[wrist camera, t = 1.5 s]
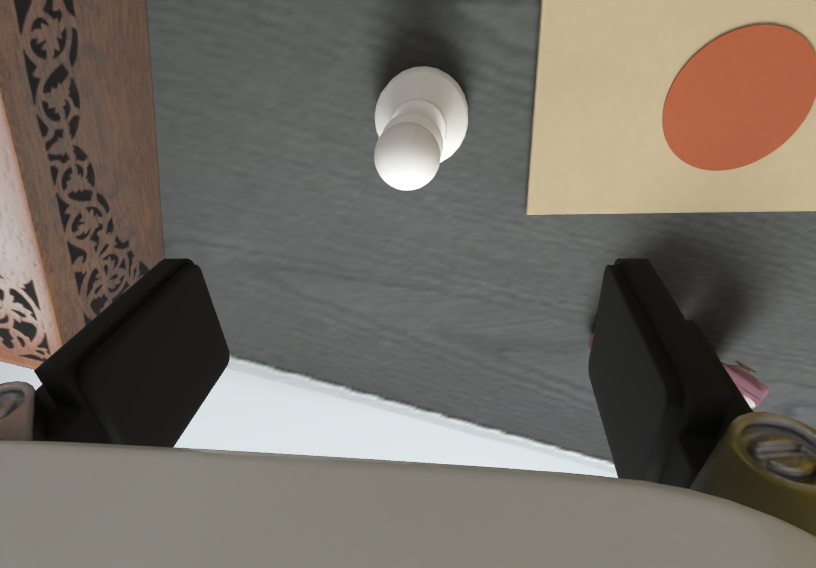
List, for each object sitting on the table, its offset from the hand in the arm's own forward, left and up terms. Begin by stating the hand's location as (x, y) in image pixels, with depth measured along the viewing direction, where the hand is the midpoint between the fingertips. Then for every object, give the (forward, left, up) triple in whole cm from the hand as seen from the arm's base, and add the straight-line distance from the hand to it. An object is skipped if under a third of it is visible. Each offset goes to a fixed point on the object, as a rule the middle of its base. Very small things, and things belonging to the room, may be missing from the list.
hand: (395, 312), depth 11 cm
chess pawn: (0, -1, -19) cm, 19 cm away
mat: (0, +15, -19) cm, 24 cm away
